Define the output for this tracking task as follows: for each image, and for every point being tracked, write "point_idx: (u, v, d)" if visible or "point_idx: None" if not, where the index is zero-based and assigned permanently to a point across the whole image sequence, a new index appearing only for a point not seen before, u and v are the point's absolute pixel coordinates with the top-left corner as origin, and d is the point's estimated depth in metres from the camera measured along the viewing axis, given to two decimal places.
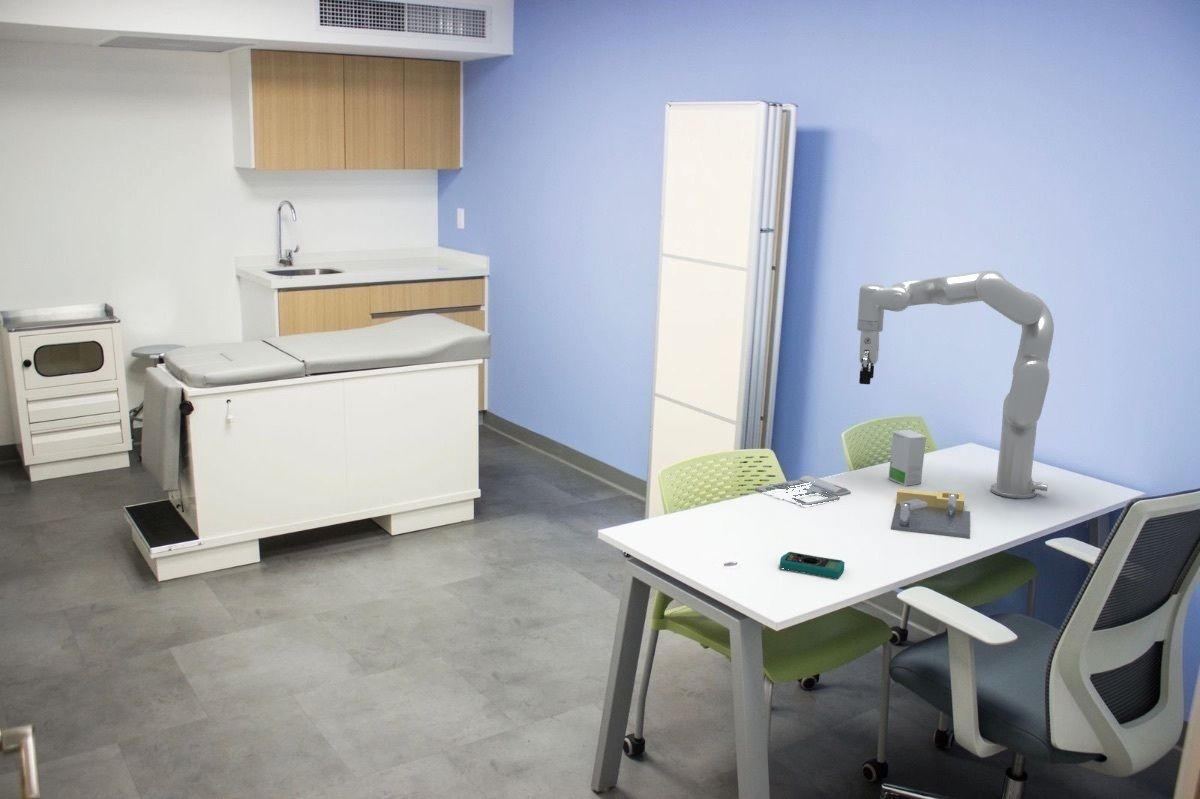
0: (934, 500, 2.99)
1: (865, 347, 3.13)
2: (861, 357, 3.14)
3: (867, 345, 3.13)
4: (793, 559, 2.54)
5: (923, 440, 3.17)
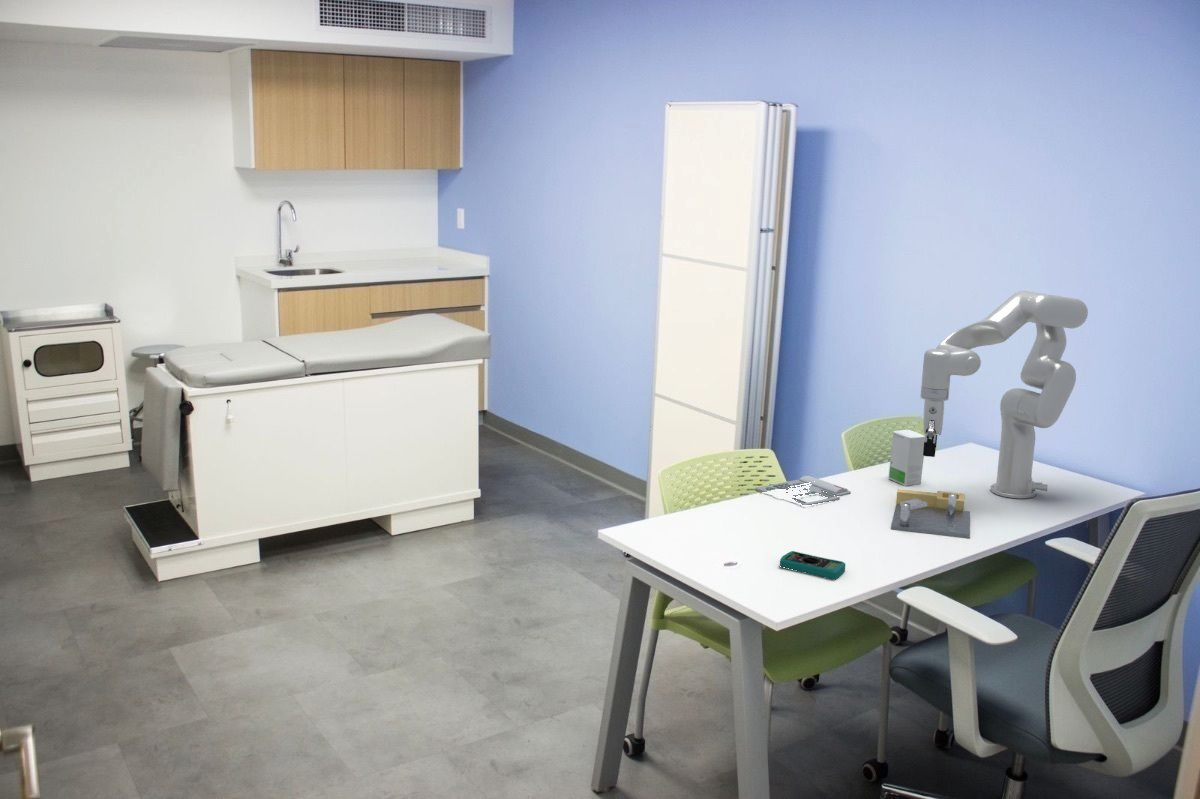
0: (934, 500, 2.99)
1: (930, 417, 2.91)
2: (925, 427, 2.92)
3: (932, 415, 2.90)
4: (793, 558, 2.54)
5: (923, 440, 3.17)
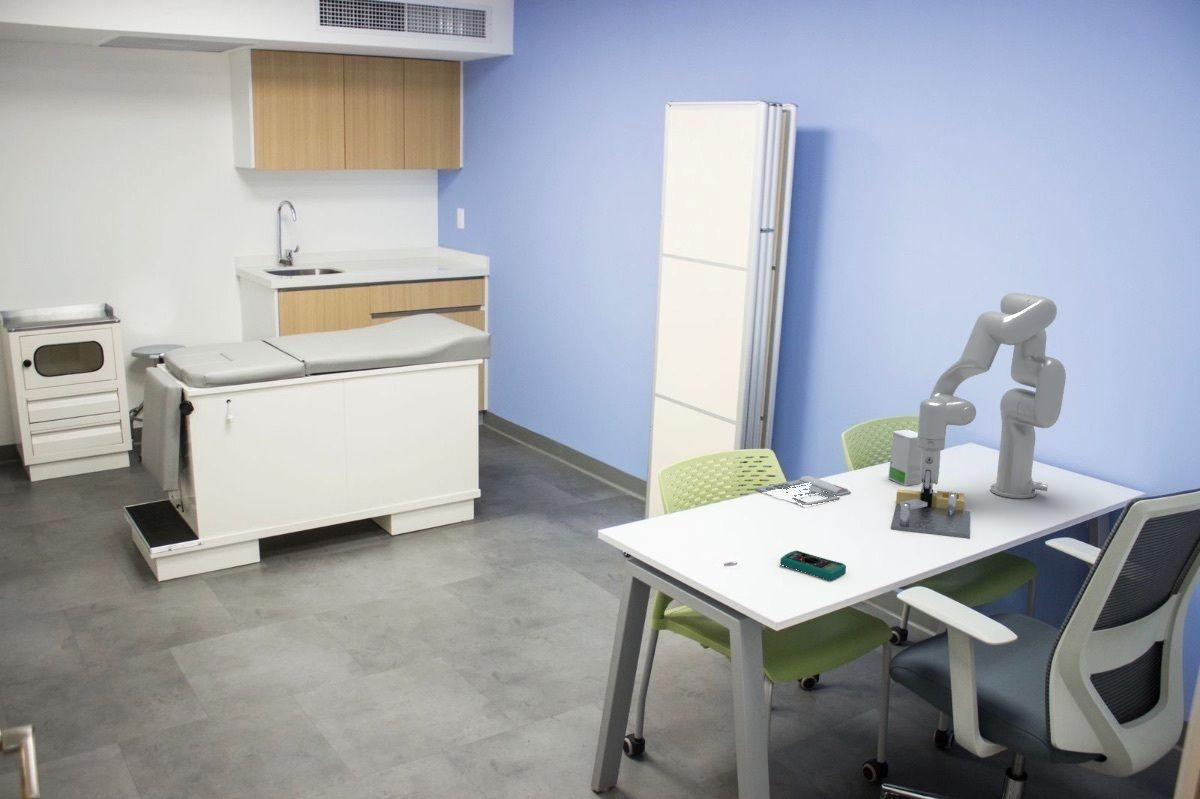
0: (934, 500, 2.99)
1: (927, 467, 2.94)
2: (922, 477, 2.95)
3: (929, 465, 2.94)
4: (795, 557, 2.55)
5: None
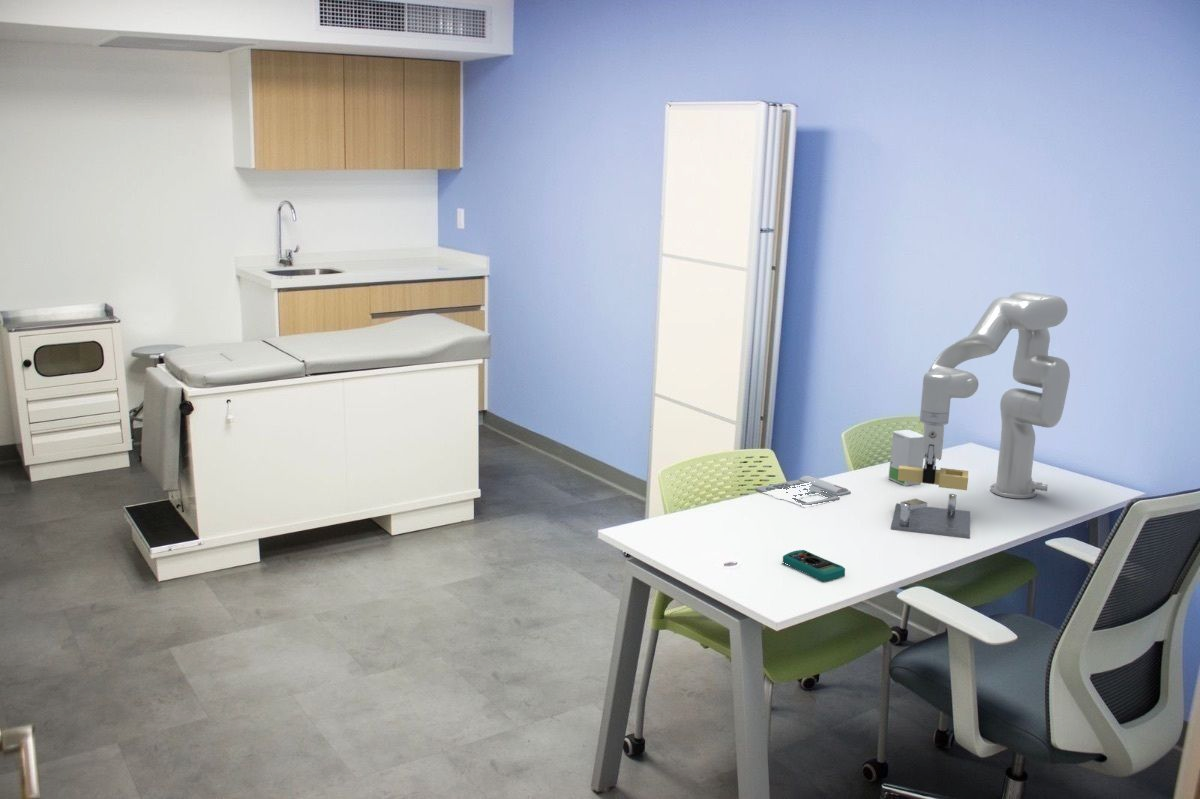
0: (937, 477, 2.88)
1: (930, 442, 2.84)
2: (925, 452, 2.85)
3: (932, 439, 2.83)
4: (797, 556, 2.55)
5: None
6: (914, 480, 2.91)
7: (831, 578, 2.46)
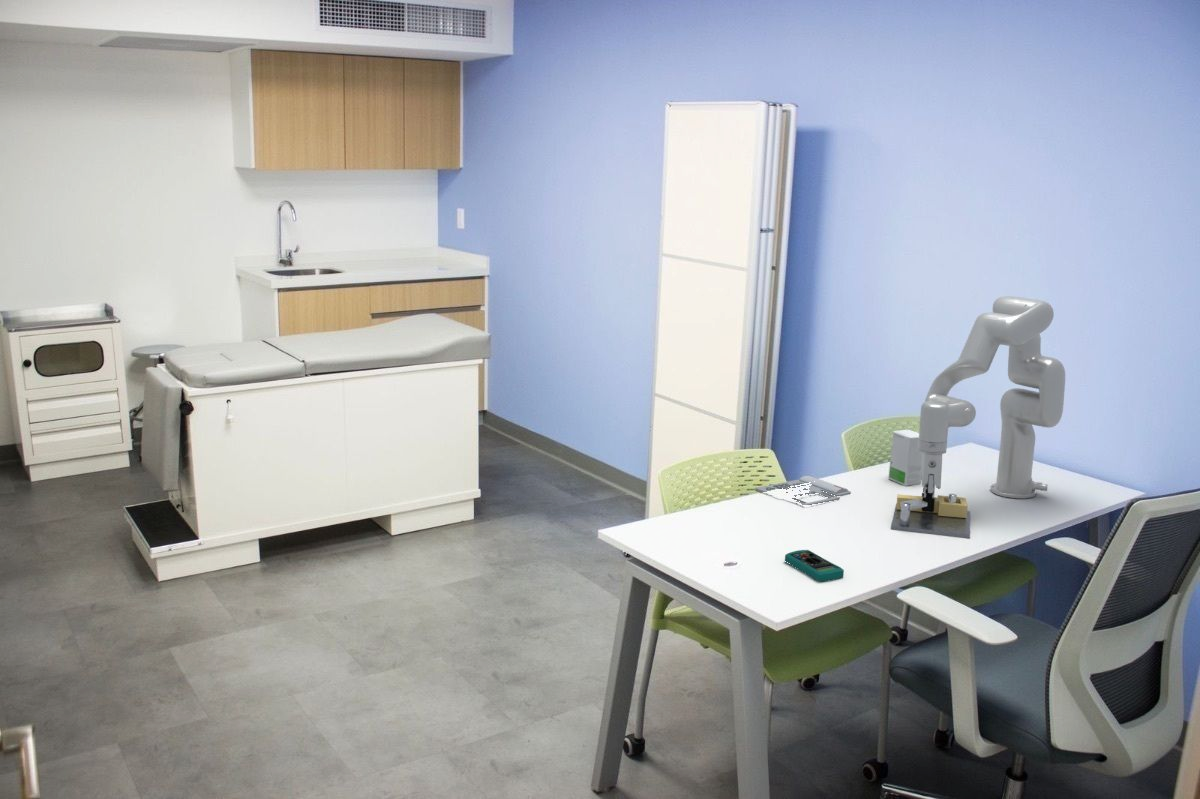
0: (936, 505, 2.90)
1: (929, 471, 2.85)
2: (925, 482, 2.86)
3: (932, 469, 2.85)
4: (799, 556, 2.56)
5: None
6: (913, 509, 2.92)
7: (827, 579, 2.46)
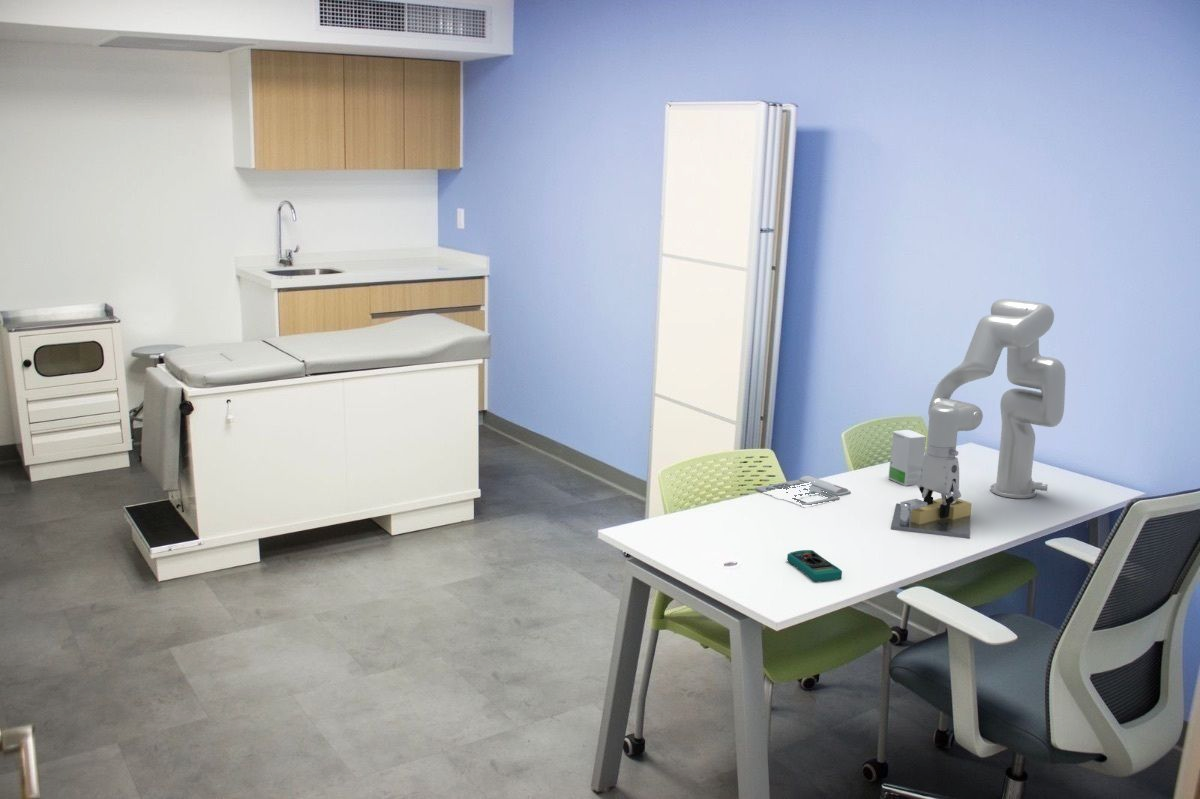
0: None
1: (953, 477, 2.80)
2: (949, 488, 2.80)
3: (954, 474, 2.80)
4: (801, 555, 2.56)
5: (923, 440, 3.17)
6: (930, 519, 2.84)
7: (824, 579, 2.46)
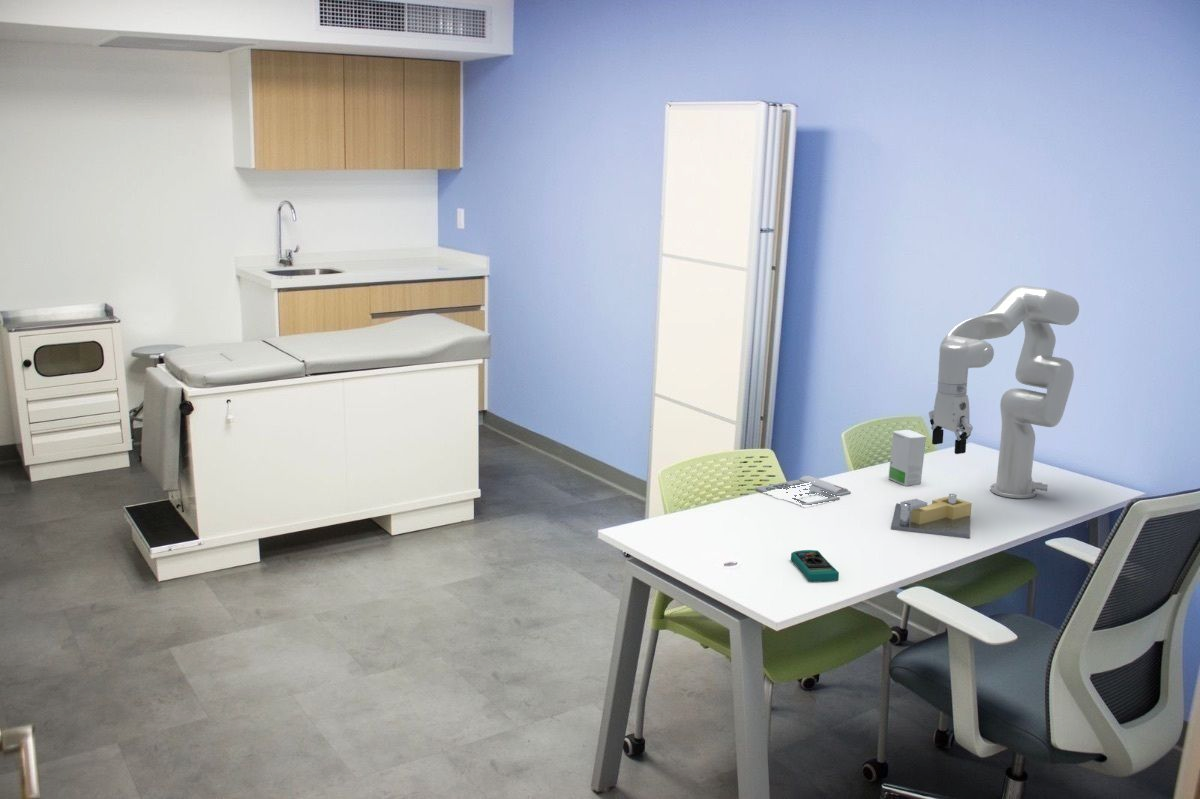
0: (945, 510, 2.87)
1: (961, 414, 2.80)
2: (957, 425, 2.81)
3: (963, 411, 2.80)
4: (804, 555, 2.56)
5: (923, 440, 3.17)
6: (930, 519, 2.84)
7: (819, 579, 2.45)
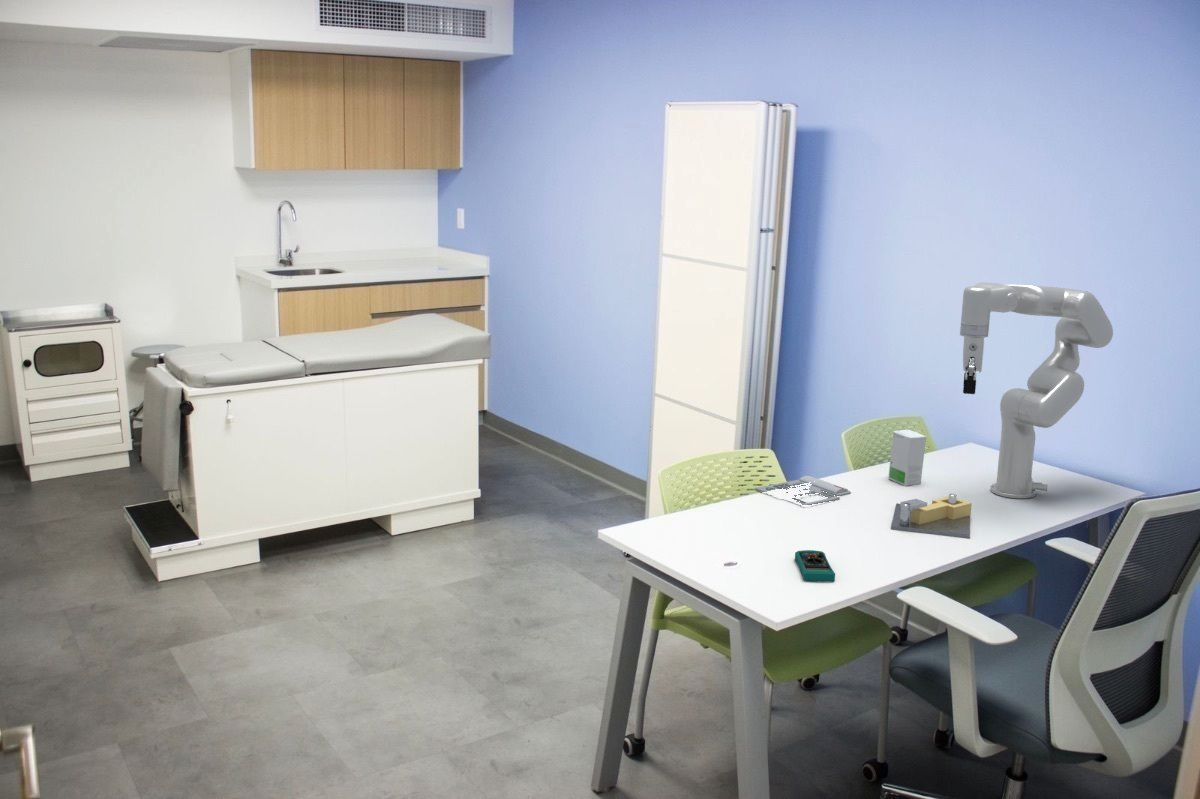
0: (945, 510, 2.87)
1: (970, 354, 2.90)
2: (966, 365, 2.91)
3: (972, 352, 2.90)
4: (807, 555, 2.56)
5: (923, 440, 3.17)
6: (930, 519, 2.84)
7: (814, 579, 2.46)
